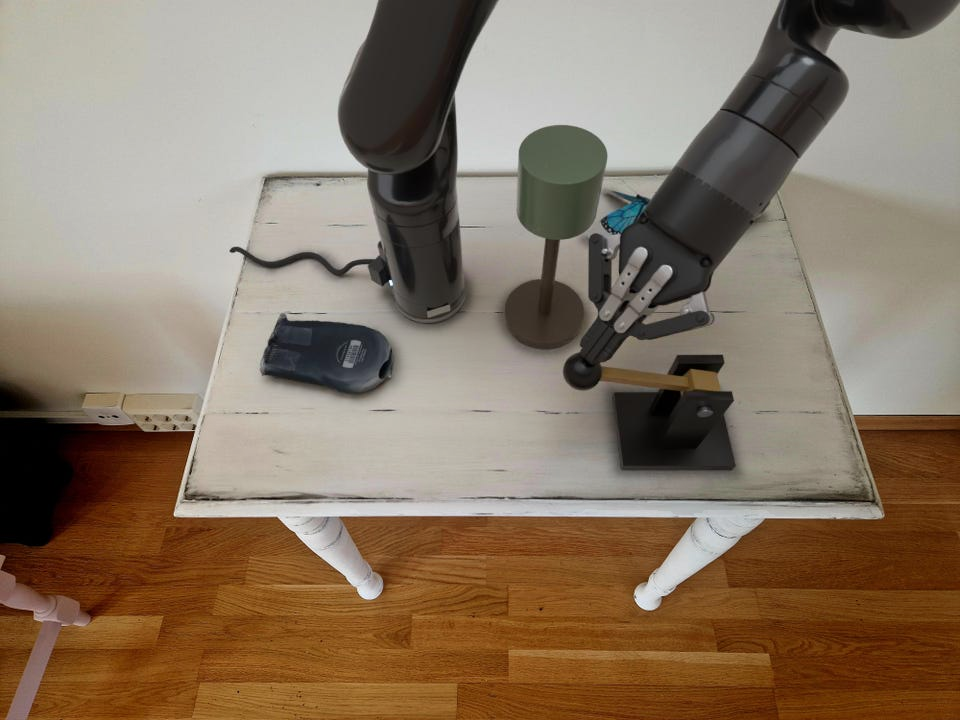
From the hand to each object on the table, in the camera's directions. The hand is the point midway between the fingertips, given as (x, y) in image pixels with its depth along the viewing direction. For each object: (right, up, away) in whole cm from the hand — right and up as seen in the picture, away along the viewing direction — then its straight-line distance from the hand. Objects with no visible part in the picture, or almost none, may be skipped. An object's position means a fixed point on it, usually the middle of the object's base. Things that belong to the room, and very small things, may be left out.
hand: (588, 359), depth 51 cm
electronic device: (-28, 0, +20) cm, 34 cm away
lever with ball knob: (+5, -3, +4) cm, 7 cm away
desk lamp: (-2, +6, +22) cm, 23 cm away
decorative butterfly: (+12, +19, +30) cm, 37 cm away
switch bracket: (+12, -8, +13) cm, 20 cm away
